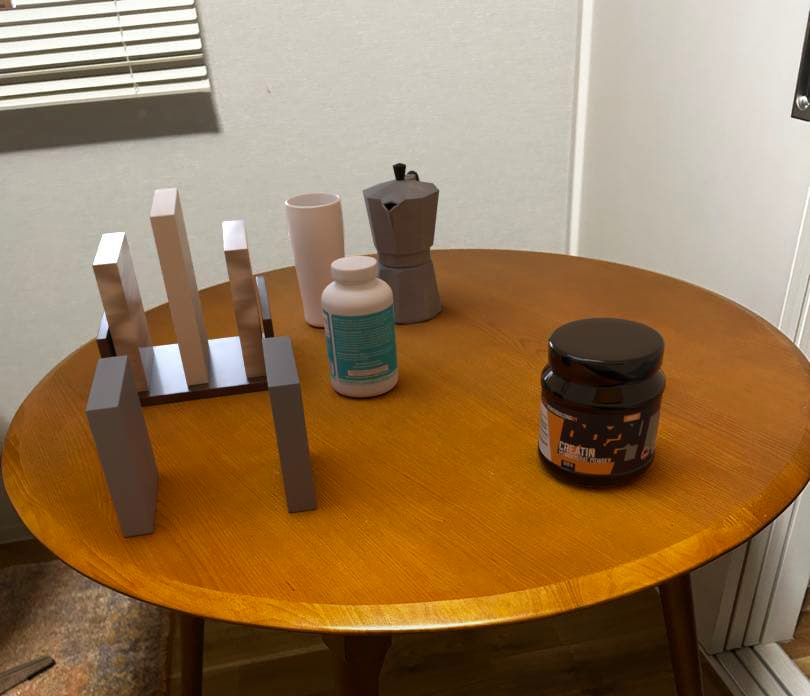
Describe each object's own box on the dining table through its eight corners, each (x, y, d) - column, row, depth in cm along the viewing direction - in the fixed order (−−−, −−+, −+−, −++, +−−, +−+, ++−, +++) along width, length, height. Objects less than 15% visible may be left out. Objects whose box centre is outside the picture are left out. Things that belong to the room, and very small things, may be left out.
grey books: (123, 537, 71) (84, 410, 64) (131, 477, 79) (98, 358, 72) (317, 509, 73) (299, 383, 66) (306, 452, 81) (289, 334, 74)
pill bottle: (412, 382, 93) (406, 259, 85) (363, 407, 88) (352, 280, 80) (366, 365, 97) (356, 246, 89) (317, 387, 93) (302, 265, 85)
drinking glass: (362, 321, 108) (352, 199, 99) (316, 335, 105) (301, 210, 96) (335, 307, 112) (323, 188, 103) (290, 320, 109) (274, 199, 100)
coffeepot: (433, 332, 104) (428, 177, 93) (359, 329, 105) (346, 177, 95) (453, 288, 116) (450, 146, 105) (386, 286, 118) (377, 147, 107)
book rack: (115, 409, 91) (76, 271, 82) (125, 357, 102) (92, 231, 93) (282, 388, 93) (261, 251, 84) (273, 339, 104) (255, 214, 95)
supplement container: (514, 468, 77) (518, 345, 70) (574, 423, 83) (583, 305, 76) (617, 506, 71) (633, 376, 64) (674, 454, 78) (694, 330, 71)
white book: (187, 385, 93) (149, 216, 82) (188, 346, 101) (154, 189, 91) (209, 383, 93) (174, 214, 82) (208, 344, 102) (177, 187, 91)
